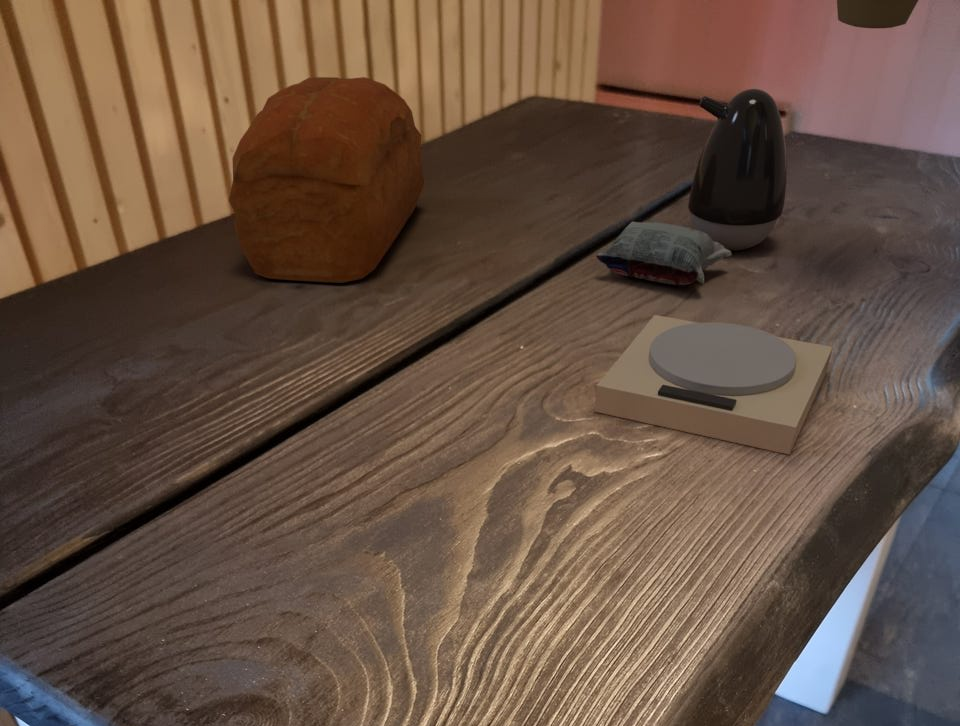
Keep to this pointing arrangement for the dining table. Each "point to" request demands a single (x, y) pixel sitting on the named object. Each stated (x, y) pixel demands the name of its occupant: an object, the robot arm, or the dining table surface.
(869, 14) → the squeeze bottle
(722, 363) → the scale
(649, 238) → the packaged food
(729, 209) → the pump dispenser
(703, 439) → the dining table surface
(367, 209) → the bread
